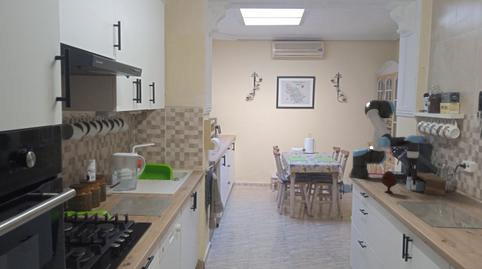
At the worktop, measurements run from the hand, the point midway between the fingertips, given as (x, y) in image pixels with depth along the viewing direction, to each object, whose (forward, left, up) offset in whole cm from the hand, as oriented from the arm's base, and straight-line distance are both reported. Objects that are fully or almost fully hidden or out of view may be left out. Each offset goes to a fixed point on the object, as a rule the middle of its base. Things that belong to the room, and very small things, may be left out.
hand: (411, 187), depth 266 cm
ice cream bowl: (+15, -18, -2) cm, 23 cm away
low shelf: (0, +11, -1) cm, 11 cm away
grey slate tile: (0, +7, -1) cm, 7 cm away
